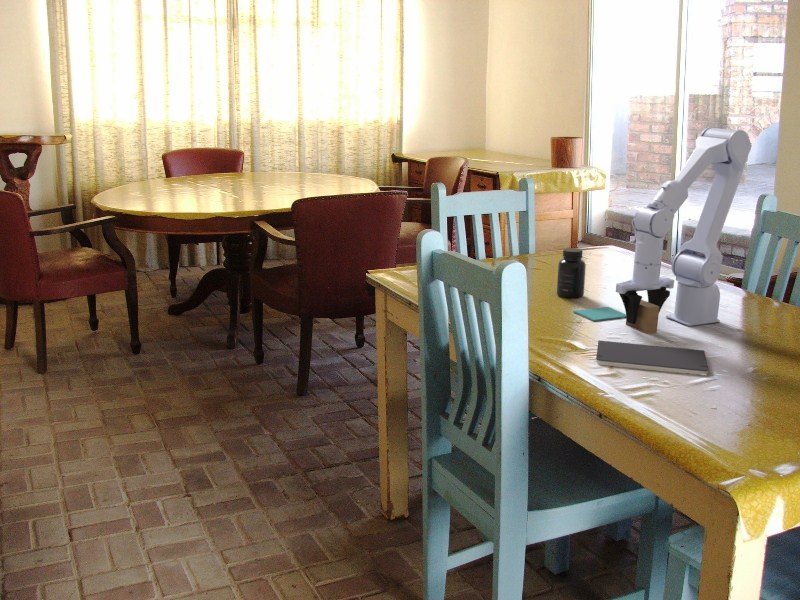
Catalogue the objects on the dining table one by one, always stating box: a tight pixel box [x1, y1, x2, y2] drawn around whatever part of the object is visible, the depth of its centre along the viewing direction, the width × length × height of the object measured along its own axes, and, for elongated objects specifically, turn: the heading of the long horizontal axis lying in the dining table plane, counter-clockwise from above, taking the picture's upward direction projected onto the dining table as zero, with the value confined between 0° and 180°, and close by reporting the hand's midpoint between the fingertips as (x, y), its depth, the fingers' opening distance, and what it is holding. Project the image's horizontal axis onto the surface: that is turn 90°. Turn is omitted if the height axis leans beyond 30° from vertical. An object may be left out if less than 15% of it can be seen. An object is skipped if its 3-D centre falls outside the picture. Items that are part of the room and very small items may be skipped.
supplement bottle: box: [556, 247, 586, 300], centre depth 218 cm, size 7×7×12 cm
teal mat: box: [573, 306, 626, 322], centre depth 203 cm, size 10×8×1 cm
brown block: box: [625, 299, 660, 335], centre depth 193 cm, size 7×3×6 cm, turn 24°
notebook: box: [595, 340, 710, 375], centre depth 173 cm, size 13×2×21 cm
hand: (641, 321), depth 193 cm, fingers open, 5 cm apart
